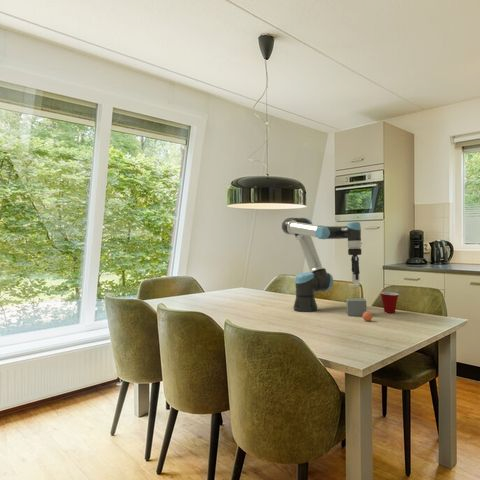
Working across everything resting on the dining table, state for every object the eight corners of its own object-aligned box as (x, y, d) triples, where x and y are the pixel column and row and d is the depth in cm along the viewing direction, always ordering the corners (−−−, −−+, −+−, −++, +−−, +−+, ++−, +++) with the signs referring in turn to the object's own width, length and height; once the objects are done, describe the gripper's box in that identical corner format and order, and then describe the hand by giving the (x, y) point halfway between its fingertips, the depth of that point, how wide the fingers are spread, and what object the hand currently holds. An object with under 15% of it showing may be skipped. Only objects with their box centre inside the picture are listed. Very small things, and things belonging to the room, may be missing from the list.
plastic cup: (401, 314, 217) (401, 293, 217) (382, 314, 219) (381, 293, 219) (397, 311, 227) (397, 291, 227) (379, 310, 229) (378, 291, 229)
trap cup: (348, 315, 216) (347, 300, 216) (346, 312, 226) (346, 298, 226) (366, 316, 214) (366, 300, 214) (364, 312, 224) (364, 298, 224)
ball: (363, 321, 200) (363, 312, 200) (362, 319, 205) (361, 310, 205) (373, 322, 199) (372, 312, 199) (371, 320, 204) (371, 310, 204)
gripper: (363, 248, 207) (365, 286, 207) (358, 247, 232) (360, 281, 232) (349, 248, 209) (351, 286, 209) (346, 248, 233) (347, 282, 233)
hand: (355, 284), depth 220 cm, fingers open, 13 cm apart
